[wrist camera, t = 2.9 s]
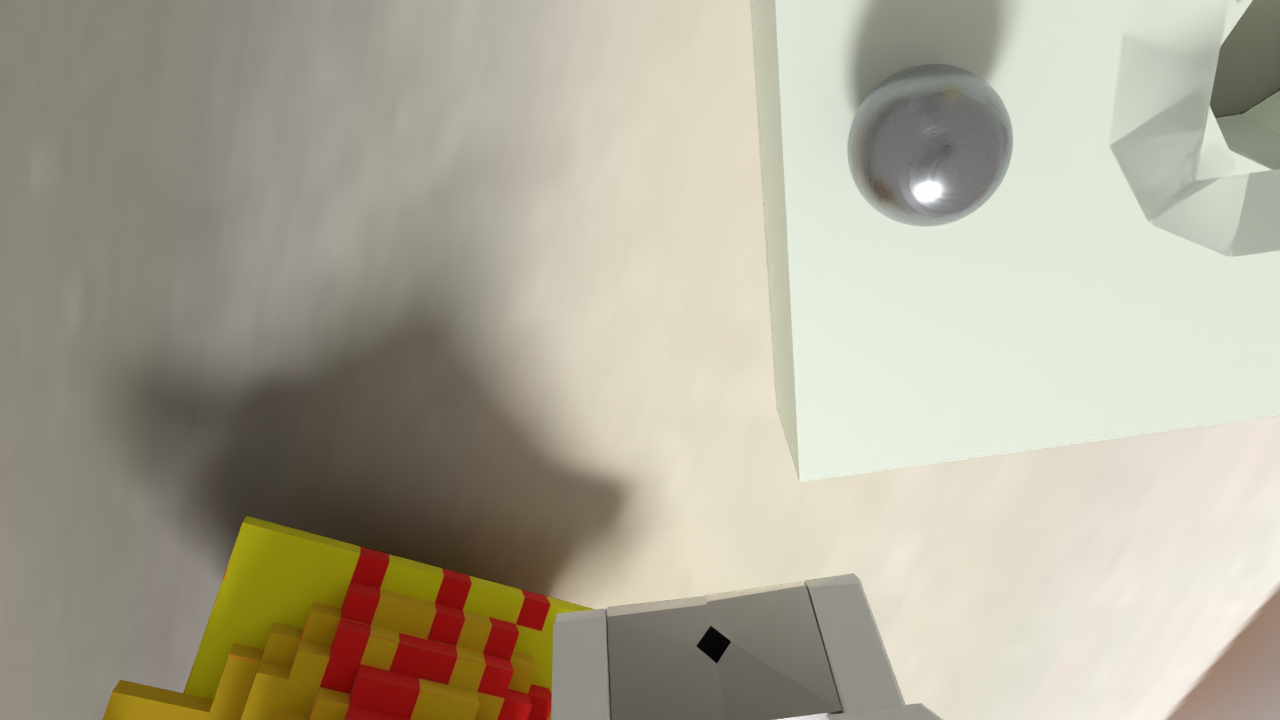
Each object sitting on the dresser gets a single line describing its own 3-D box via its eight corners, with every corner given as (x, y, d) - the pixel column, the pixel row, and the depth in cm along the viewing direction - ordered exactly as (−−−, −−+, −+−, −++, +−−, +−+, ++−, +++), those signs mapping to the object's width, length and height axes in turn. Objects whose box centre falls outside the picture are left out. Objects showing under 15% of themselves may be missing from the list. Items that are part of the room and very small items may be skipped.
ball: (829, 56, 19) (869, 105, 17) (984, 35, 19) (1047, 79, 17) (833, 199, 21) (869, 263, 18) (975, 179, 21) (1032, 241, 18)
